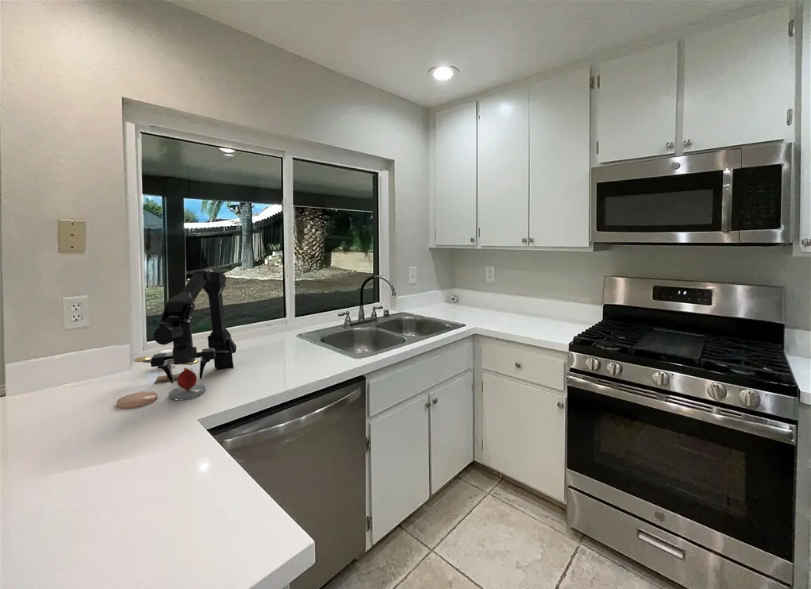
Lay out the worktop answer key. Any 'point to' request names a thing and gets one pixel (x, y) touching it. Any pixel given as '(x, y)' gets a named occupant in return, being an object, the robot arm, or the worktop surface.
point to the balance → (165, 378)
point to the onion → (187, 379)
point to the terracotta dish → (136, 399)
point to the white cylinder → (168, 354)
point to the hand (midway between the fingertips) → (186, 381)
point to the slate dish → (187, 392)
